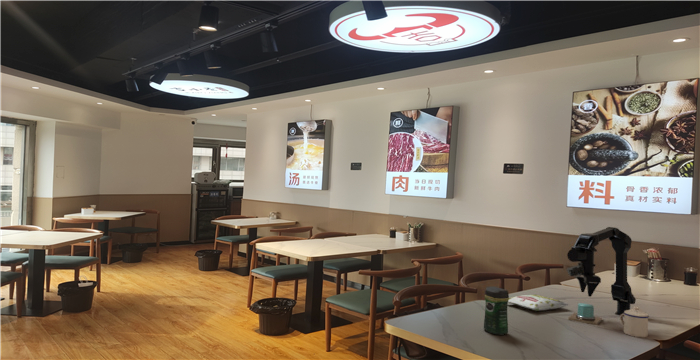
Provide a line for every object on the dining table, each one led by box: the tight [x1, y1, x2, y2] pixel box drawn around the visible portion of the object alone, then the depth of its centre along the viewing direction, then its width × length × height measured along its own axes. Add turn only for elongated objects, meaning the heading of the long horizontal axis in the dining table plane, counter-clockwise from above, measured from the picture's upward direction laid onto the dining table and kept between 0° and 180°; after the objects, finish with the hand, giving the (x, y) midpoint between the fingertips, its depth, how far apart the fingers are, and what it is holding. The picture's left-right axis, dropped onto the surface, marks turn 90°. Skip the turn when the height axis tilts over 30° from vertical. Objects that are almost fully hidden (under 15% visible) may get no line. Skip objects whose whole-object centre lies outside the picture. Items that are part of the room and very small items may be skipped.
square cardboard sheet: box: [567, 312, 603, 326], centre depth 216 cm, size 12×12×5 cm
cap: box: [577, 302, 595, 318], centre depth 216 cm, size 6×6×5 cm
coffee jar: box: [483, 285, 510, 336], centre depth 192 cm, size 10×8×19 cm
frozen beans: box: [508, 294, 570, 312], centre depth 236 cm, size 21×6×25 cm
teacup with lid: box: [619, 306, 650, 338], centre depth 198 cm, size 12×9×12 cm
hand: (586, 294), depth 216 cm, fingers open, 9 cm apart
